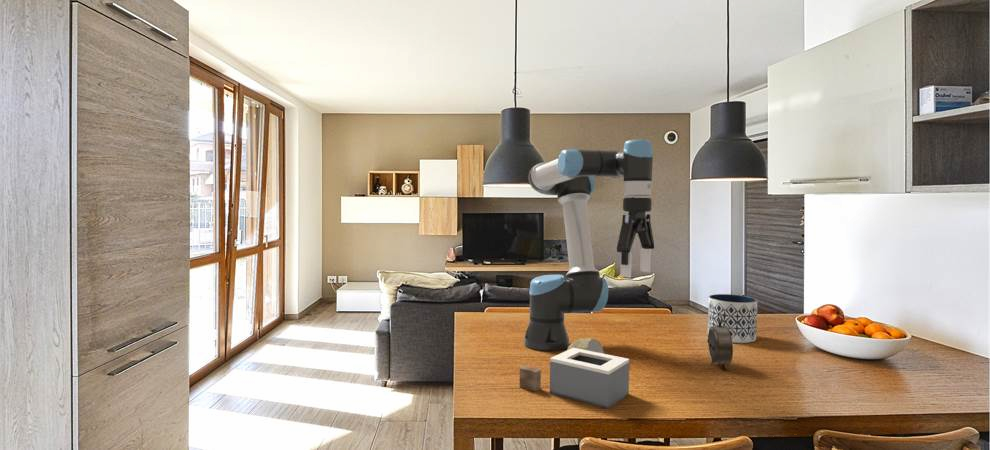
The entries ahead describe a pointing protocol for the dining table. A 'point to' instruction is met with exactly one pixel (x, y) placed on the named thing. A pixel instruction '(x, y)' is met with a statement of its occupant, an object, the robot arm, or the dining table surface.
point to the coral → (587, 345)
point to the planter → (734, 315)
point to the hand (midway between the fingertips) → (635, 274)
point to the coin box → (589, 377)
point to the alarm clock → (720, 344)
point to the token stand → (530, 378)
